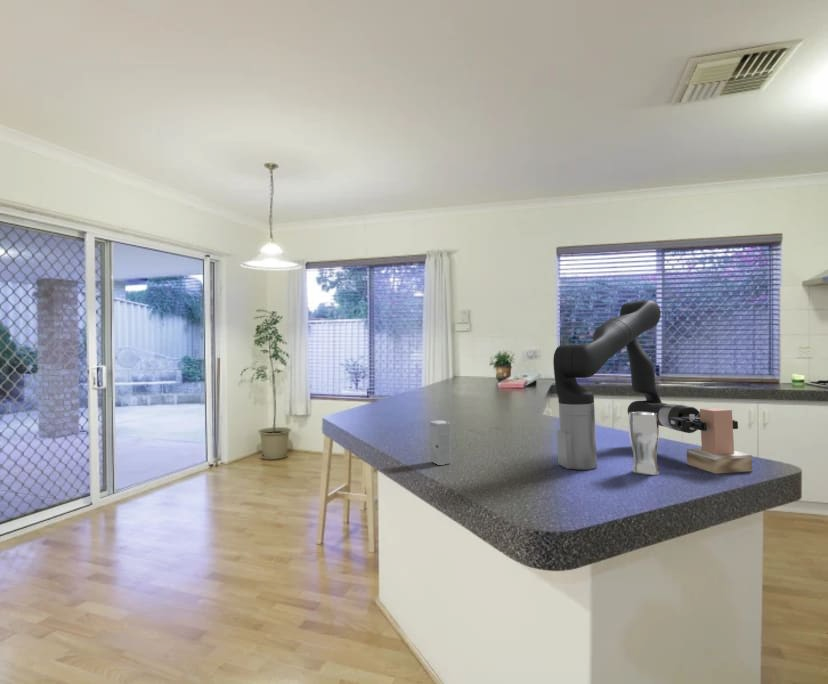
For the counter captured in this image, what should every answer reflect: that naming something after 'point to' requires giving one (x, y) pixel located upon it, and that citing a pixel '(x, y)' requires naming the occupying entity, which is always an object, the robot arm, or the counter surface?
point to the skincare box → (440, 441)
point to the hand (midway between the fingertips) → (721, 425)
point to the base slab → (719, 461)
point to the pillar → (717, 431)
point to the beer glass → (644, 442)
